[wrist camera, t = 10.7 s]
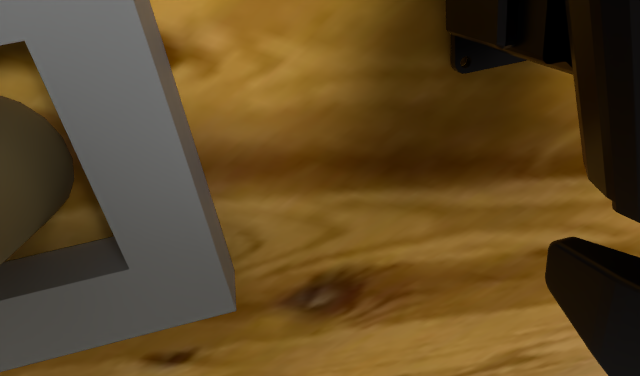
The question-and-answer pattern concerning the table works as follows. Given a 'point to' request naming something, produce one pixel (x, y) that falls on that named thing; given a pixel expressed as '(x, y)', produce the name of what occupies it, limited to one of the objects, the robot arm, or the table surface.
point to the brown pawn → (29, 174)
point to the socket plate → (114, 189)
